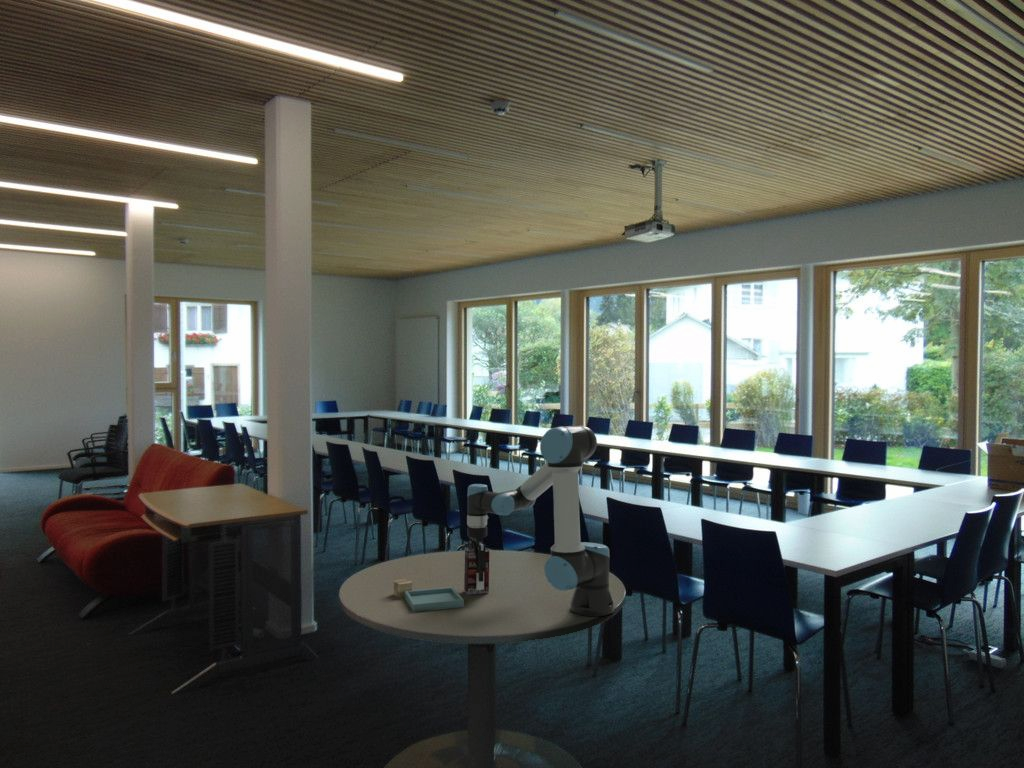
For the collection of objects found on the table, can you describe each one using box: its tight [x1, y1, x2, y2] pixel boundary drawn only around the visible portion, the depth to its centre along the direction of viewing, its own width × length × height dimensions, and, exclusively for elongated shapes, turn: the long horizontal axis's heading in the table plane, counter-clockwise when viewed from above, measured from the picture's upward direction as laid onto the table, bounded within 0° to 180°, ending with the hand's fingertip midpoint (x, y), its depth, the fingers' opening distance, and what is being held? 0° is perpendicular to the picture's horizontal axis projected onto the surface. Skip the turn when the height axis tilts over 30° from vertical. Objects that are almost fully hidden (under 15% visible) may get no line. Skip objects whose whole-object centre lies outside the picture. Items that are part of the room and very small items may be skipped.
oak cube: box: [393, 578, 413, 599], centre depth 276 cm, size 5×5×5 cm
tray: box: [404, 586, 465, 613], centre depth 268 cm, size 16×18×2 cm
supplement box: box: [463, 548, 490, 596], centre depth 280 cm, size 9×5×16 cm, turn 108°
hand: (476, 586), depth 280 cm, fingers open, 8 cm apart
